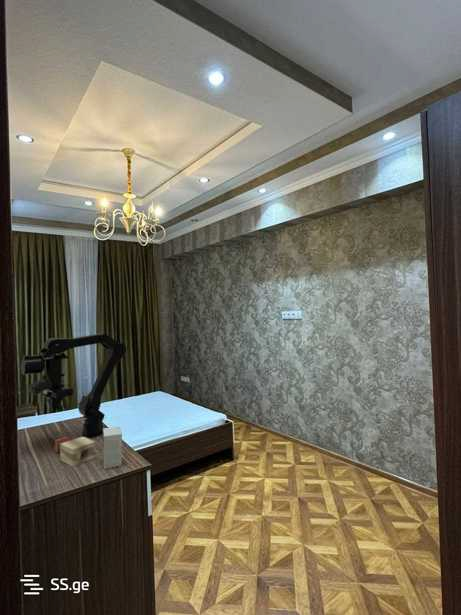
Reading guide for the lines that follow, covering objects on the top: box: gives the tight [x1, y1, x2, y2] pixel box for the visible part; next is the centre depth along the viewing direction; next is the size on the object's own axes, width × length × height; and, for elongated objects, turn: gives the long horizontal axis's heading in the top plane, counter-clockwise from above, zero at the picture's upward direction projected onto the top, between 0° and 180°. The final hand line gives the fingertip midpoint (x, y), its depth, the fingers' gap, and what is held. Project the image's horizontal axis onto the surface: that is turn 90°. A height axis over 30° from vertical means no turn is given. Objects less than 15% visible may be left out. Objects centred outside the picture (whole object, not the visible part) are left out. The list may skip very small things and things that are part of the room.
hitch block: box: [59, 436, 97, 467], centre depth 109 cm, size 8×8×6 cm
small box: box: [102, 425, 123, 470], centre depth 106 cm, size 8×6×10 cm
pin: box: [54, 436, 83, 455], centre depth 112 cm, size 4×12×4 cm, turn 55°
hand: (53, 412), depth 122 cm, fingers closed
